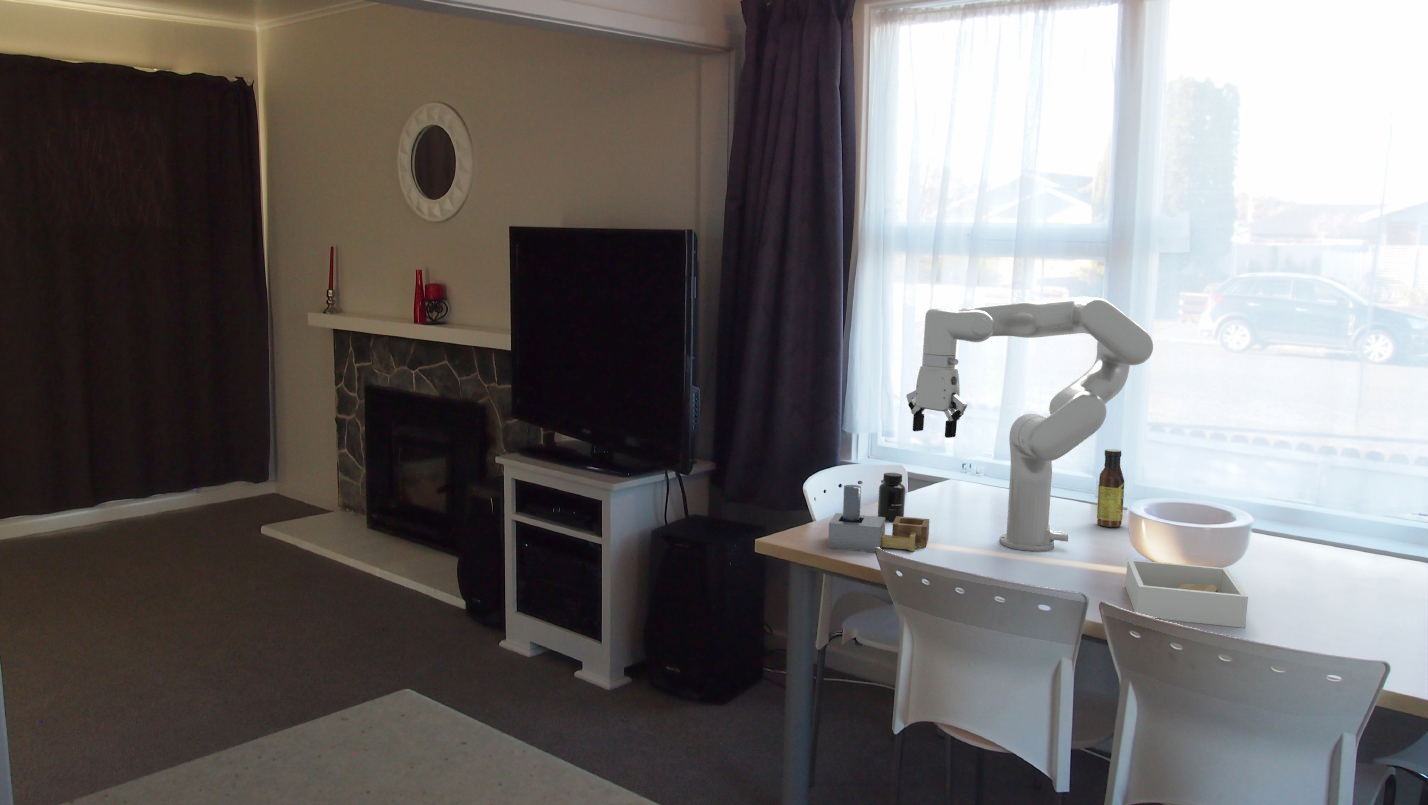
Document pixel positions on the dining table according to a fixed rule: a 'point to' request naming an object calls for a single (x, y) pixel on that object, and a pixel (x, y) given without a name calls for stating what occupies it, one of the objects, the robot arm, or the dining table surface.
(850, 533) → the socket block
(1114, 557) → the dining table surface
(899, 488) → the supplement bottle
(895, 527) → the wooden open box
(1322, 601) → the dining table surface
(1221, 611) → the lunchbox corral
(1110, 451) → the sauce bottle
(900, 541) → the tan blocky piece
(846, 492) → the grey rounded bar
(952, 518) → the dining table surface
